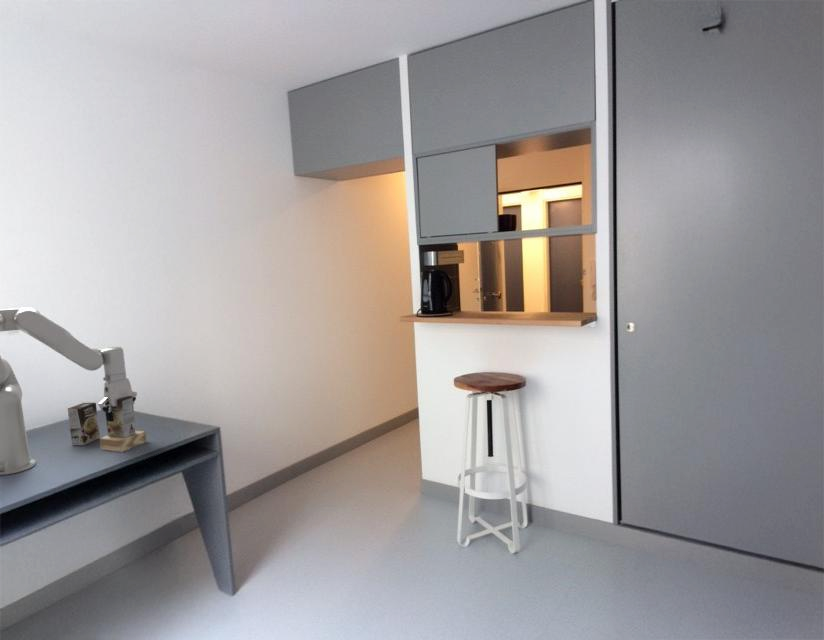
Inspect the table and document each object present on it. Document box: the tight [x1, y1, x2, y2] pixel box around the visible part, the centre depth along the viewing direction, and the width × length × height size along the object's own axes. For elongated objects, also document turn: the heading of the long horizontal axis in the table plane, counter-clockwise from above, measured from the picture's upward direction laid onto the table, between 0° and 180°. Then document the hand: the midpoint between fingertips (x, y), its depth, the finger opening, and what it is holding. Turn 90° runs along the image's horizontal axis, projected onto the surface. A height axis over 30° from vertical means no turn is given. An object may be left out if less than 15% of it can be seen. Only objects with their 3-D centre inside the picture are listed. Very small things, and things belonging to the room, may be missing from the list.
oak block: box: [98, 429, 147, 453], centre depth 221 cm, size 12×12×5 cm
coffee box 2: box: [104, 396, 136, 438], centre depth 220 cm, size 9×6×16 cm
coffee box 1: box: [67, 402, 101, 446], centre depth 227 cm, size 9×6×16 cm
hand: (120, 417), depth 220 cm, fingers open, 9 cm apart
